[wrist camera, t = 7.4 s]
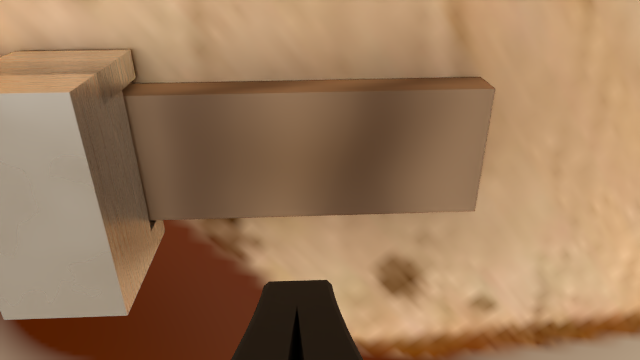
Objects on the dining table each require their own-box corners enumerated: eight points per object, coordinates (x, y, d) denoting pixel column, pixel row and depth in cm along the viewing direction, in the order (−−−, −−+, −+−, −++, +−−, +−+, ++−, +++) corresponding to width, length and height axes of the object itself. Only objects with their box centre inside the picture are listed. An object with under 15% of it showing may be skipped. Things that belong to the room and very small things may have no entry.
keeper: (130, 49, 17) (69, 92, 12) (165, 230, 20) (127, 315, 16) (13, 51, 16) (-91, 95, 12) (69, 233, 20) (4, 319, 16)
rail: (486, 36, 17) (571, 82, 12) (458, 222, 21) (513, 321, 16) (-80, 45, 16) (-259, 99, 11) (-5, 236, 20) (-113, 344, 15)
